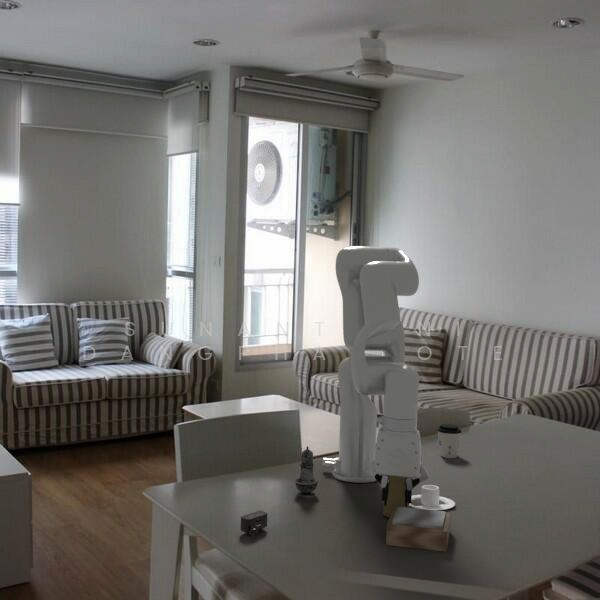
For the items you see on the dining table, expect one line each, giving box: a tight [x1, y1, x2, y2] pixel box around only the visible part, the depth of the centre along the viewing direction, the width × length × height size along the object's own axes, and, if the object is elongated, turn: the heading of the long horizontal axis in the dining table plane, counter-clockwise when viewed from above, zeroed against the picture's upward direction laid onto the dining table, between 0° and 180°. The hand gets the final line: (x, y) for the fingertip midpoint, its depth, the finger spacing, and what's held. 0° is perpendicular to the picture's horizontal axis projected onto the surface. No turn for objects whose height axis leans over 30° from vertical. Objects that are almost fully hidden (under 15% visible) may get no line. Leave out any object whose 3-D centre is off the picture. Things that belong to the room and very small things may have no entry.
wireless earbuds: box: [240, 510, 269, 536], centre depth 166 cm, size 4×7×3 cm, turn 139°
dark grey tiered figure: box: [293, 445, 320, 500], centre depth 191 cm, size 6×6×12 cm
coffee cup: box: [437, 423, 462, 459], centre depth 229 cm, size 7×7×10 cm
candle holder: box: [409, 484, 456, 511], centre depth 187 cm, size 12×12×4 cm
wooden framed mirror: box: [385, 507, 452, 553], centre depth 164 cm, size 12×12×5 cm
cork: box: [382, 476, 410, 518], centre depth 177 cm, size 6×6×11 cm
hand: (396, 504), depth 177 cm, fingers closed on cork, 3 cm apart
